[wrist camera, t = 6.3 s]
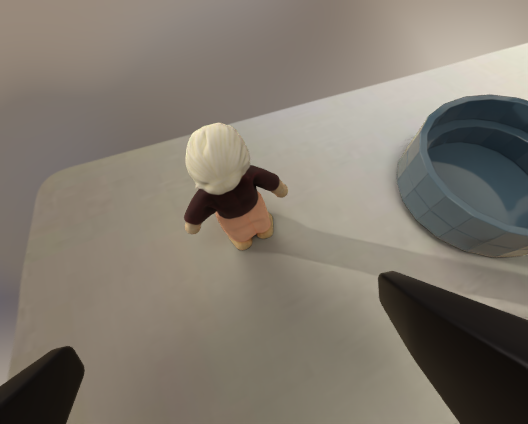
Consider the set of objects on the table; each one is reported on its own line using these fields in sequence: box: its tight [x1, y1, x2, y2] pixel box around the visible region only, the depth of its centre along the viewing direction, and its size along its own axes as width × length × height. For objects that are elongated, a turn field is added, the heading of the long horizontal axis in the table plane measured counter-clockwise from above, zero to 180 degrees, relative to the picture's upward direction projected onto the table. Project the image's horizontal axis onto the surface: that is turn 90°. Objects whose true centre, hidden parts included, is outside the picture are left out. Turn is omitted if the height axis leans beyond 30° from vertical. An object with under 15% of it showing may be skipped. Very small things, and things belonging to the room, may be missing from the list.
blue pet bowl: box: [397, 95, 528, 257], centre depth 21 cm, size 13×13×5 cm
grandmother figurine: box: [184, 123, 288, 250], centre depth 17 cm, size 8×4×13 cm, turn 126°
